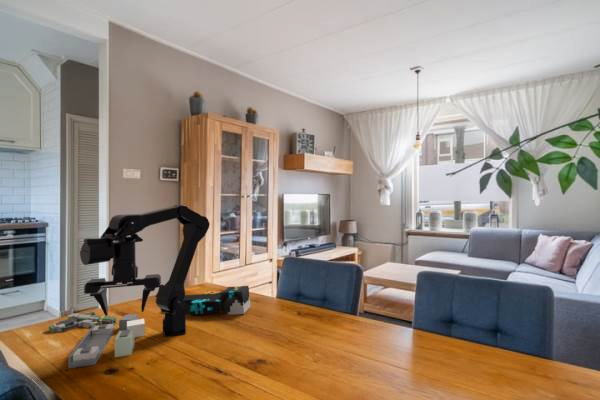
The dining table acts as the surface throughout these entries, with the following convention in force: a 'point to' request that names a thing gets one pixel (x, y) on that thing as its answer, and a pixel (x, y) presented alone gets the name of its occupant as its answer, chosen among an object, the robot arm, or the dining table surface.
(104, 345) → the rail
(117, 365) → the dining table surface
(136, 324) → the block
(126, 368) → the dining table surface
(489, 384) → the dining table surface
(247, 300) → the toy
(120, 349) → the module
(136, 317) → the white block
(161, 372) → the dining table surface
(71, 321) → the futuristic handgun
